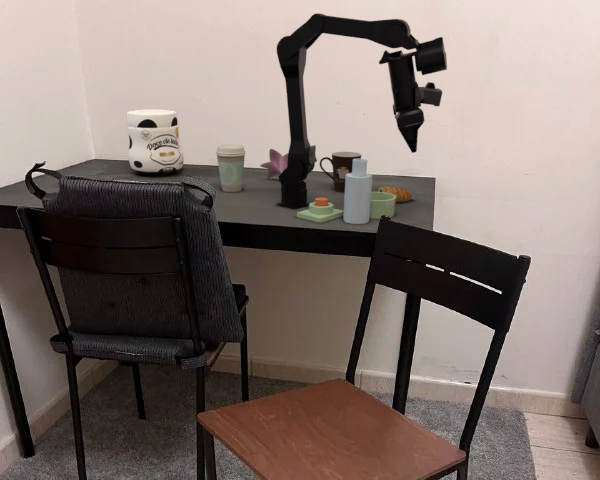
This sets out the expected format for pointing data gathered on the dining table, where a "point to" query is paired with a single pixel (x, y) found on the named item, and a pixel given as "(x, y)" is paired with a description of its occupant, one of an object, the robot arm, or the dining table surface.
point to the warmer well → (382, 204)
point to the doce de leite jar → (154, 142)
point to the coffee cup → (231, 166)
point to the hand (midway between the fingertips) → (412, 147)
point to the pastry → (397, 193)
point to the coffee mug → (341, 167)
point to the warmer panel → (320, 213)
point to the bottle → (357, 193)
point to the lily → (275, 163)
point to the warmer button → (321, 202)
